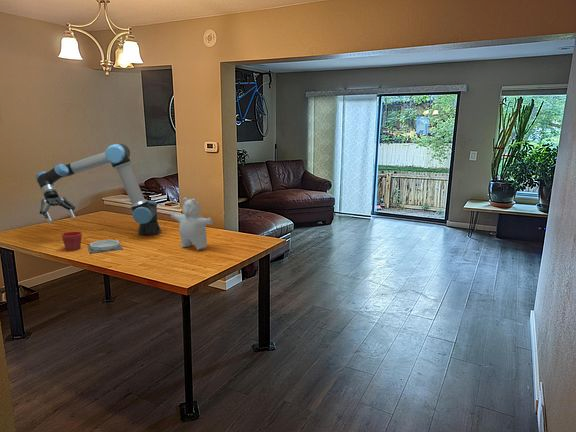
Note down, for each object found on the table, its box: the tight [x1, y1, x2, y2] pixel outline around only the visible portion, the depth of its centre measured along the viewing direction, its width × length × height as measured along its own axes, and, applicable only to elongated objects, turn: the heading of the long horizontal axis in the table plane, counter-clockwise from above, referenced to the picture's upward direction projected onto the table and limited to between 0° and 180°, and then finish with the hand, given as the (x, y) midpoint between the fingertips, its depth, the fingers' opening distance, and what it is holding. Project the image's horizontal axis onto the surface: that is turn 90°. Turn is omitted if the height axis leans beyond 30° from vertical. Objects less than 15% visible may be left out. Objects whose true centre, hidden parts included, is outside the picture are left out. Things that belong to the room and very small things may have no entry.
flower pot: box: [61, 231, 83, 252], centre depth 241 cm, size 11×11×10 cm
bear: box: [170, 197, 214, 251], centre depth 245 cm, size 35×14×32 cm, turn 60°
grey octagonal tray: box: [87, 239, 124, 254], centre depth 245 cm, size 18×18×3 cm
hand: (62, 220), depth 245 cm, fingers open, 13 cm apart
